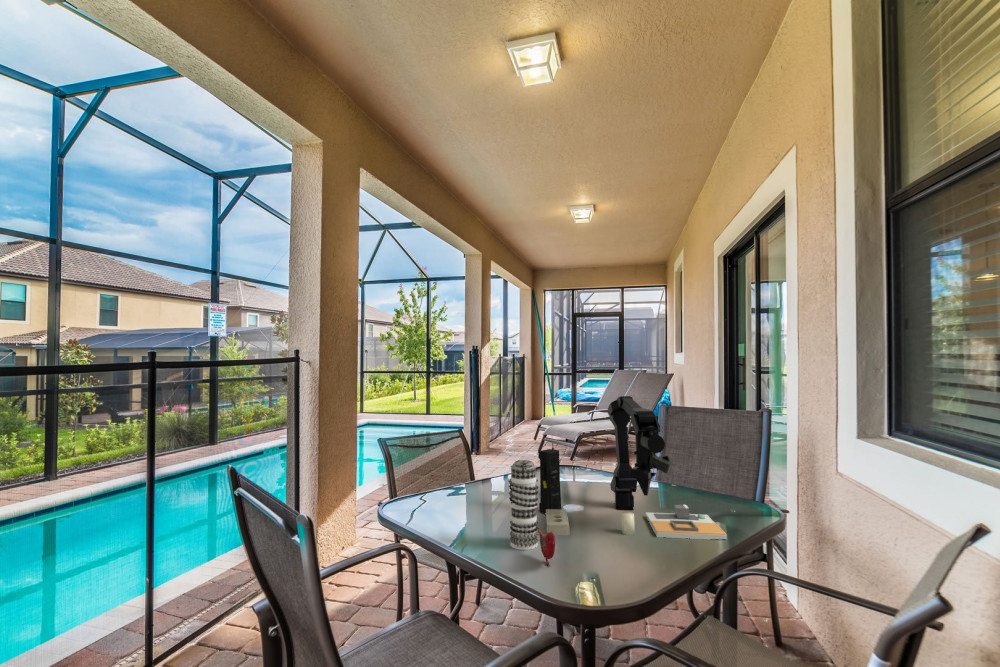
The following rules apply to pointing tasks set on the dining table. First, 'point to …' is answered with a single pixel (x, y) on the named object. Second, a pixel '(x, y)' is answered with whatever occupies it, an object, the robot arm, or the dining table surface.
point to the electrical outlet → (557, 521)
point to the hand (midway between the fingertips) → (646, 495)
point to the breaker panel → (685, 526)
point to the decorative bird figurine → (547, 545)
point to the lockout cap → (628, 523)
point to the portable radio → (549, 480)
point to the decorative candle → (523, 505)
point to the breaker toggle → (681, 511)
